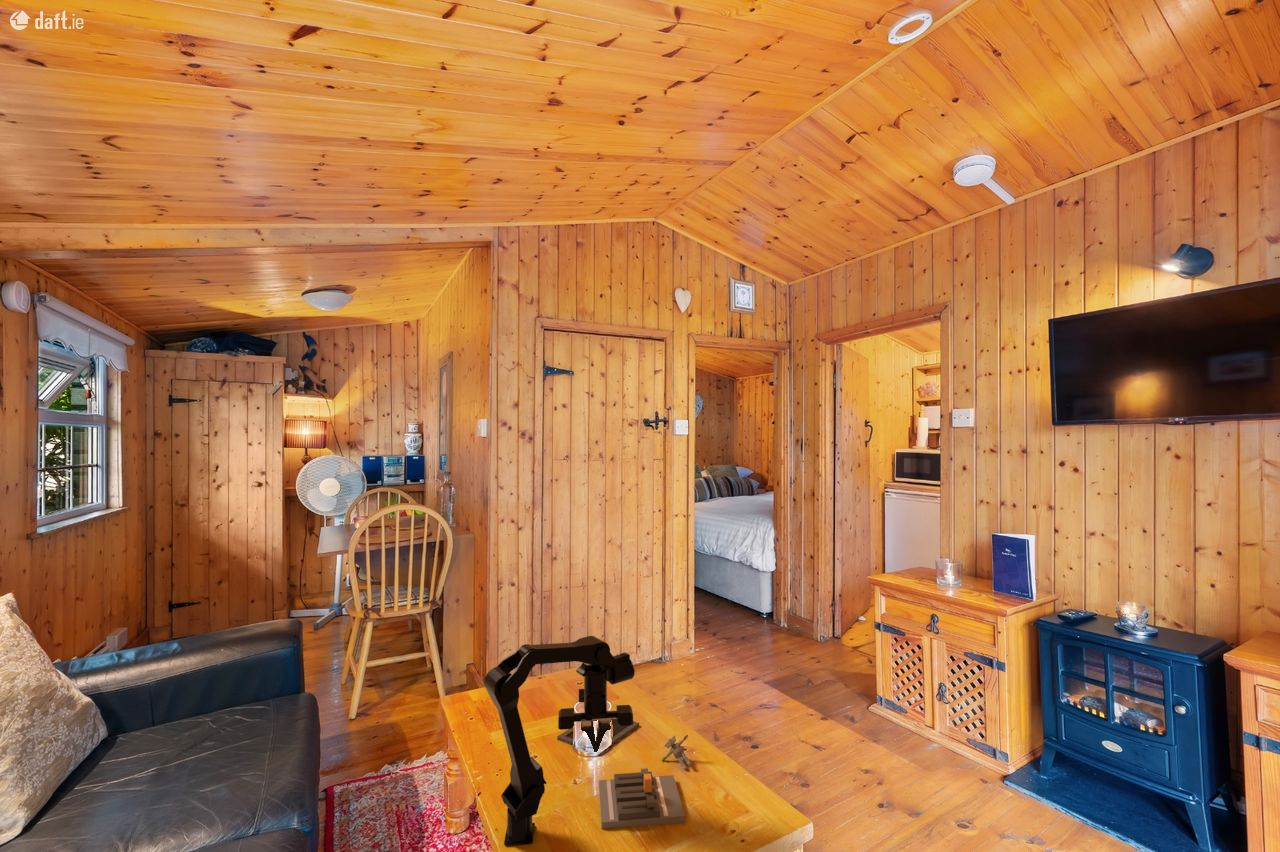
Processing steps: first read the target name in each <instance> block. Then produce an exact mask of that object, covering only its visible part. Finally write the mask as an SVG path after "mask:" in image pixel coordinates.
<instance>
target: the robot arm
mask: <svg viewBox="0 0 1280 852" xmlns="http://www.w3.org/2000/svg"><path fill="white" fill-rule="evenodd" d="M569 662H570V663H571V662H572V663H573V662H578V663H581V664H580V666H579V667H577V669H576V671H575V672H576V673H577V674H578V675H580V676H582V677H583V682H584V683H583V686H584V688H579V689H578V703H583V710H584V711H583V712H575V707H566V708H560V709H559V711H558V718H557V719H558V721H557V722H558V724H557V725H558V730H562V731H563V730H569V729H571V728H572V727H573V726H575V723H580V722H581V730H582V731H585V732H586V733H587V735H588V737H589V739H590V741H591V744H592V746H593V749H594V752H597V751H598V749H599V746H600V743H601V741H602V738H603V736H604V734H605V732H606V731H607V730H610V729H611V726H610V722H611V720H613V719H618V724H620V725H621V726H629V725H633V721H634V713H633V708H632V706H631V705H630V704H621V705H620V704H619V705H617V704H616V706H615V707H616V708H615V709H616V710H607V709H608V691H607V690H608V689H607V688H608V686H607V685H608V683H609V684H610V685H616V684H620V683H622V682H627V681H630V680H632V679H633V678H634V677H635V671H636V669H635V667H634V664H633V662H632V660H631V656H630V654H629V653H627V652H622V653H619V654H617V655H613V654H612V652H611V648H610V645H609V644H608V643H607V642H606V641H604V640H602V639H600V638H598V637H597V636H594V635H587V636H585V637H581V638H578V639H577V640H575V641H572V642H559V643H542V644H539V643H538V644H529V643H527V644H525V643H524V644H522V645H521V646H519V648H518V649H517V650H516V651H515V652H513V653H511V654H510V655H508V656H507V657H505V658H503V659H502V660H501V661H500V662H499V663H498V664H497V665H496V666H495V667H493V668H491V669H490V670H489V671H487V673H486V675H485V676H484V679H483V685H484V687H485V688H484V689H486V692H487V694H488V696H489V697H490V699H491V701H492V703H493V705H494V706H495V708H496V709H497V712H498V716H499V721H500V724H501V729H502V732H503V735H504V740H505V743H506V747H507V751H508V753H509V758H510V759H509V760H510V761H511V762H510V763H511V765H510V772H509V777H510V782H509V784H508V785H507V786H506V788H505V789H504V790H503V792H502V793H501V794H500V795H501V799H502V802H503V803H504V805H505V806H506V807H507V809H506V811H507V815H506V816H507V817H506V819H507V821H506V822H507V823H506V831H505V836H504V841H503V844H504V846H515V845H516V846H517V845H528V844H532V843H534V839H535V828H536V823H535V822H533V817H534V816H535V815H537V812H538V809H539V806H540V804H541V799H542V797H543V796H544V794H545V792H546V788H545V786H546V784H547V783H548V782H547V781H546V780H545V778H544V769H543V766H541V765H540V764H539V763H538V761H536V759H535V758H534V757H533V756H530V755H531V754H530V751H529V747H528V743H527V740H526V735H525V732H524V731H525V730H524V728H523V724H522V723H523V722H522V720H521V716H520V715H521V714H520V712H519V709H518V704H519V701H520V689H519V688H521V687H522V685H523V684H524V683H525V682H526V681H527V679H528V677H529V675H530V673H531V671H532V669H533V668H534V667H535V666H536V665H546V664H558V663H559V664H560V663H569ZM513 670H515V671H514V672H512V671H513ZM511 672H512V673H511ZM607 682H608V683H607ZM597 720H598V728H597V737H596V741H595V734H594V727H593V721H597Z"/></svg>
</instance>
